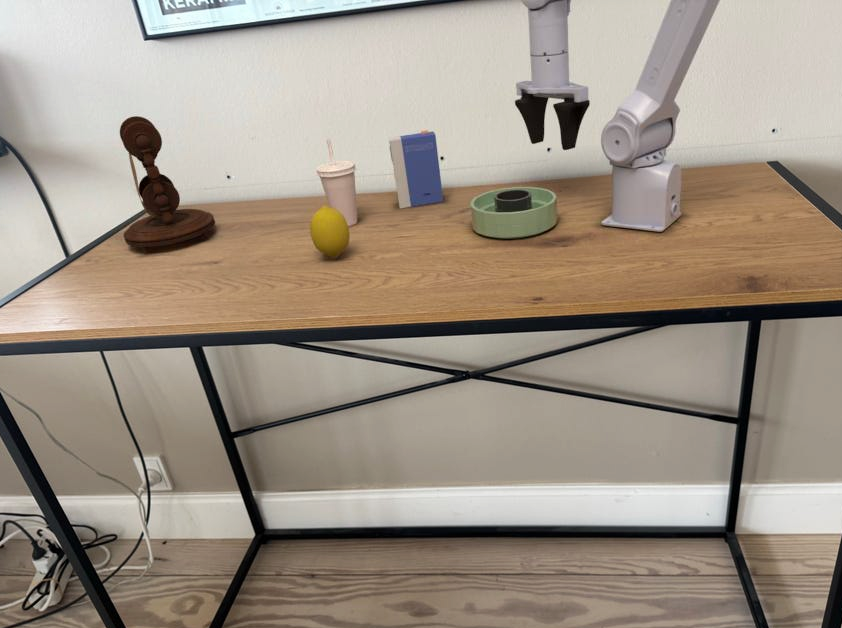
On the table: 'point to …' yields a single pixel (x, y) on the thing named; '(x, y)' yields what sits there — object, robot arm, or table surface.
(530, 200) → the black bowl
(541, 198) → the sage bowl
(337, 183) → the smoothie
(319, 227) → the lemon
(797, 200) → the table surface
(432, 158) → the walkman
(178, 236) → the brown pulley stand
